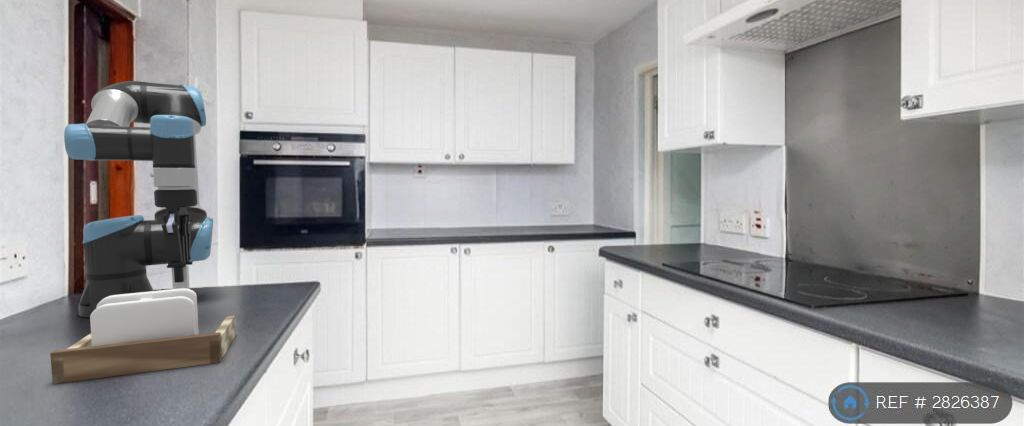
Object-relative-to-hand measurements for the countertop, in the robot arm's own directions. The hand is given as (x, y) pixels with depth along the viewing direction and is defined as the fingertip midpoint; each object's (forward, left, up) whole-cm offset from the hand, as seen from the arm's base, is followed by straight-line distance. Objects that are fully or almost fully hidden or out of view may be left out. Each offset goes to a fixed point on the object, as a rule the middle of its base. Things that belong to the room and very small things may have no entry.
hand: (181, 295), depth 104 cm
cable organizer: (+20, -1, -7) cm, 21 cm away
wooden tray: (+19, 0, -7) cm, 20 cm away
